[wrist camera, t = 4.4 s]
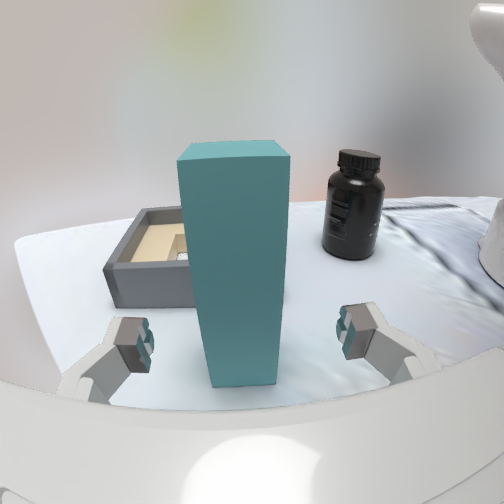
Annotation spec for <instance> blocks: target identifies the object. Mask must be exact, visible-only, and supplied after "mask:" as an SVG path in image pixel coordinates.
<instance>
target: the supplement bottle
mask: <svg viewBox="0 0 504 504" xmlns="http://www.w3.org/2000/svg"><path fill="white" fill-rule="evenodd" d="M380 159H381V158H380V156H378V155H376V154H373V153H370V152H366V151H360V150H351V149H343V150H340V151H339V161H338V164H337V165H338V166H339V167H340V170H339V171H336V172H335V173H333V174H332V175H331V176H330V178H329V181H328V190H327V199H326V209H325V218H324V227H323V237H322V243H323V245H324V247H325V248H326V250H327V251H329V252H330V253H332V254H334V255H336V256H338V257H341V258H346V259H363V258H366V257H368V256H369V255H370V254H371V253H372V252H373V250H374V246H375V242H376V238H377V233H378V228H379V223H380V217H381V212H382V206H383V200H384V194H385V187H384V184H383V182H382V181H381V180H380V179H379V178H378V177H377V173H379V172H380Z"/></svg>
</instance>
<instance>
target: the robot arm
mask: <svg viewBox="0 0 504 504" xmlns="http://www.w3.org/2000/svg"><path fill="white" fill-rule="evenodd" d="M470 28H471V33H472V37H473V40H474V42H475V44H476V46H477V48H478V49H479V51H480V53H481V54H482V55H483V57H484V58H485V59H486V60H487V61H488V62H489V63H490V64H491V65H492V66H493V67H494V68H495V70H496V71H497V72H498V73H499V75H500V76H501V77H502V79H503V80H504V4H495V3H479V4H478V5H477V6H476V7H475V8H474V10H473V12H472V14H471V19H470ZM478 244H479V246H480V248H481V249H480V252H479V259H480V262H481V264H482V266H483V267H484V269H485V270H486V271H487V272H488V273H489V275H490V276H491V277H492V278H493V279H494V280H496V281H497V282H498V283H499V284H500V285H501V286H503V287H504V199H502V200H500V201H499V202H498V204H497V207H496V209H495V212H494V215H493V218H492V220H491V223H490V225H489V228H488V231H487V233H486V236H485V237H480V240H479V242H478ZM339 313H340V315H341V317H340V318H339V319H338V321H337V325H336V332H337V337H338V340H339V341H340V342H341V343H343V347H342V350H343V353H344V355H345V358H346V360H352V359H358V358H364V359H365V360H367V361H368V362H369V363H370V364H371V365H372V366H374V367H375V368H376V369H377V370H378V371H379V372H380V373H382V374H383V375H384V376H385V377H386V378H387V379H389V380H390V381H391V383H390V385H389V386H387V387H383V388H380V389H376V390H372V391H367V392H363V393H359V394H354V395H349V396H345V397H339V398H334V399H329V400H323V401H317V402H311V403H304V404H297V405H289V406H280V407H271V408H259V409H245V410H222V411H181V410H158V409H144V408H133V407H124V406H116V405H111V404H110V402H109V401H108V400H109V399H110V397H111V396H112V395H113V394H114V393H115V391H116V390H117V389H118V388H119V387H120V386H121V384H122V383H123V382H124V381H125V380H126V379H127V377H128V376H129V375H130V374H131V373H149V369H150V365H151V359H150V357H149V356H150V355H151V354H152V353H153V350H154V338H153V334H152V332H151V331H150V330H149V329H148V326H149V323H148V320H147V318H139V317H113V318H112V319H111V322H110V324H109V327H108V329H107V332H106V334H105V337H104V339H103V342H102V344H98V345H97V346H96V347H95V348H93V349H92V350H91V351H90V352H88V353H87V354H86V355H85V356H84V357H82V358H81V359H80V360H79V361H78V362H76V363H75V364H74V365H73V366H71V367H70V368H69V369H68V370H67V371H65V372H64V373H63V376H62V378H61V381H60V384H59V386H58V389H57V392H56V394H55V395H54V394H49V393H45V392H41V391H37V390H34V389H30V388H26V387H23V386H20V385H16V384H13V383H10V382H7V381H4V380H1V379H0V504H504V350H503V349H501V348H499V347H495V348H492V349H489V350H487V351H485V352H483V353H481V354H478V355H476V356H474V357H471V358H469V359H467V360H464V361H462V362H459V363H457V364H454V365H452V366H449V367H447V368H444V369H443V368H442V366H441V365H440V363H439V361H438V360H437V358H436V356H435V354H434V353H433V351H432V350H431V349H430V348H428V347H426V346H425V345H423V344H421V343H420V342H418V341H416V340H415V339H413V338H411V337H410V336H408V335H406V334H405V333H403V332H401V331H400V330H398V329H396V328H395V327H393V326H389V325H388V323H387V321H386V320H385V318H384V316H383V315H382V313H381V311H380V310H379V308H378V306H377V305H376V303H375V302H367V303H361V304H353V305H346V306H342V307H341V309H340V312H339Z"/></svg>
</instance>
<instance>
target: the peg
mask: <svg viewBox="0 0 504 504" xmlns="http://www.w3.org/2000/svg"><path fill="white" fill-rule="evenodd" d="M177 169H178V179H179V189H180V197H181V207H182V216H183V224H184V231H185V239H186V246H187V253H188V260H189V267H190V273H191V279H192V286H193V292H194V298H195V303H196V309H197V314H198V320H199V325H200V331H201V336H202V341H203V346H204V351H205V355H206V360H207V365H208V370H209V374H210V379H211V383H212V387H241V386H257V385H270V384H276V377H277V366H278V356H279V344H280V333H281V320H282V308H283V294H284V279H285V264H286V247H287V228H288V207H289V180H290V155H289V154H288V153H287V152H286V151H285V150H284V149H282V148H281V147H280V146H279V145H278V144H277V143H276V142H275V141H274V140H253V141H252V140H251V141H224V142H207V143H192V144H191V145H190V146H189V147H188V148H187V149H186V150H185V151H184V153H183V154H182V155H181V156H180V157H179V159H178V160H177Z"/></svg>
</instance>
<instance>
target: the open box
mask: <svg viewBox="0 0 504 504" xmlns="http://www.w3.org/2000/svg"><path fill="white" fill-rule="evenodd" d="M182 252H187V246H186V239H185V231H184V224H183V216H182V207H181V206H172V207H158V208H146V209H141V211H140V212H139V214H138V215H137V217H136V218H135V220H134V221H133V222H132V224H131V225H130V227H129V228H128V230H127V231H126V233H125V234H124V236H123V237H122V239H121V241H120V242H119V244H118V245H117V247H116V248H115V250H114V251H113V253H112V255H111V256H110V258H109V260H108V261H107V263H106V264H105V266H104V268H103V273H104V276H105V279H106V281H107V284H108V287H109V290H110V293H111V296H112V298H113V301H114V304H115V306H116V308H183V307H196V303H195V298H194V292H193V286H192V279H191V273H190V267H189V260H176V259H177V256H178V253H182Z"/></svg>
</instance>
